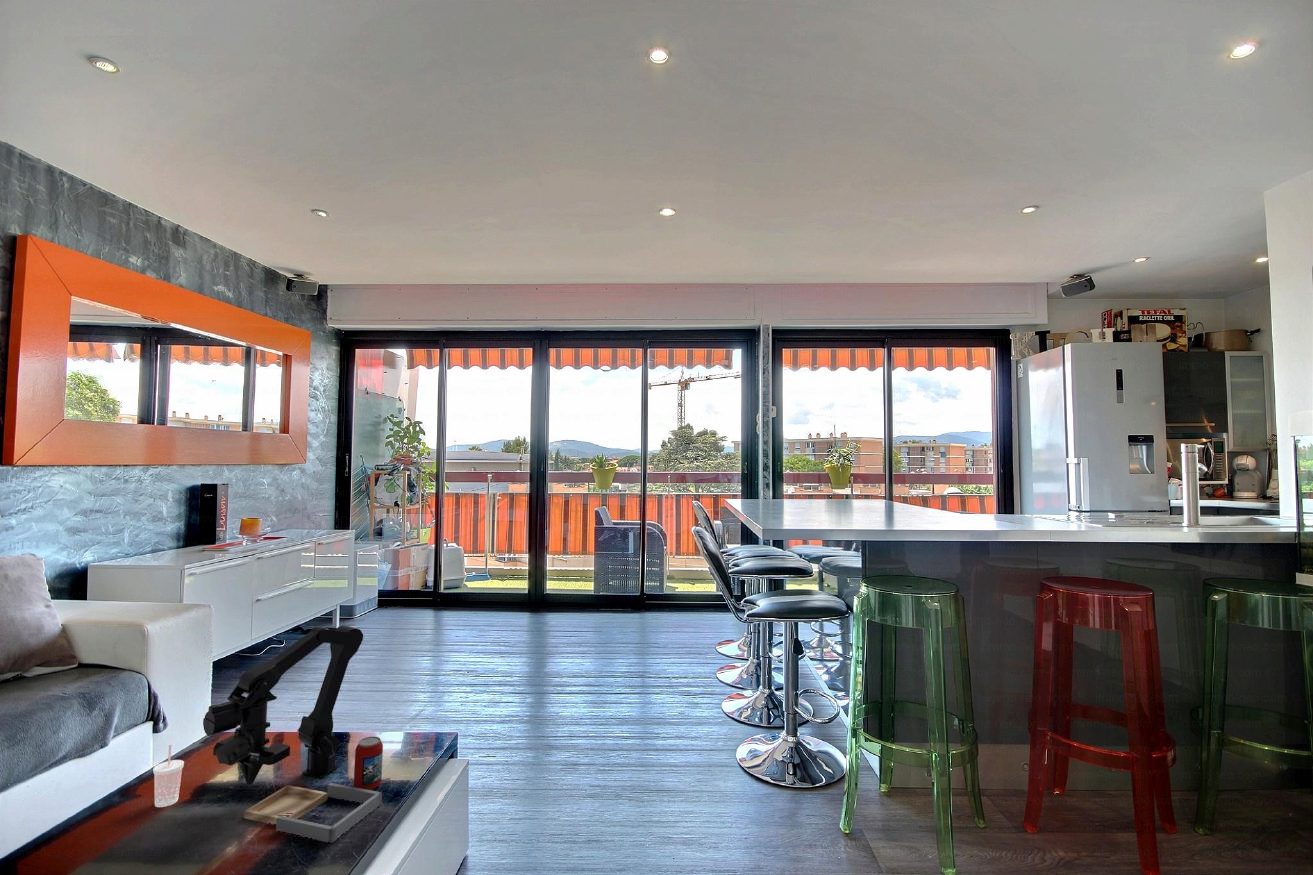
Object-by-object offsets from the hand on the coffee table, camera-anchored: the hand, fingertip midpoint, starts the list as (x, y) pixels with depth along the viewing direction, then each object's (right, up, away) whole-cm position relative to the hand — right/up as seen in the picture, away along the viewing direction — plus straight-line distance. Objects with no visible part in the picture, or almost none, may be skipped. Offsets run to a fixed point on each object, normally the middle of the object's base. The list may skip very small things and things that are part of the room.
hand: (250, 783), depth 156 cm
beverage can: (+26, -5, +8) cm, 28 cm away
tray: (+11, -5, -3) cm, 13 cm away
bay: (+24, -4, -6) cm, 25 cm away
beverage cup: (-20, -4, -2) cm, 20 cm away
